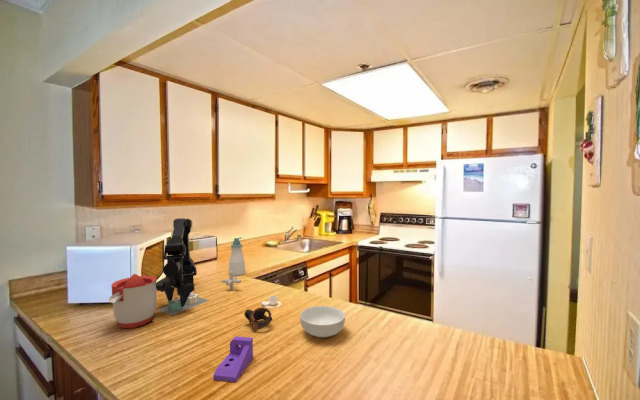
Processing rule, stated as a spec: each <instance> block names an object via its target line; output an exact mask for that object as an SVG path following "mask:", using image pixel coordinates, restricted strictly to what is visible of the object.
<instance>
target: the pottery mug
mask: <svg viewBox="0 0 640 400" xmlns="http://www.w3.org/2000/svg"><path fill="white" fill-rule="evenodd" d="M266 313H268V316H267V315H266ZM243 315H244V317H245V318H246V320H248V322H249V324H252V330H253V331H254V332H258V330H262V329H263V328H267V327H268V325H270V324H271V322H272V321H273V318H272V312H271V311H270V309H269V308H268V307H264V306H263V307H262V306H261V307H260V306H259V307H257V308H255V309H254V310H252V309H245V311H244V313H243ZM260 320H261V321H260Z"/></svg>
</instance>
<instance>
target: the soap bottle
mask: <svg viewBox="0 0 640 400" xmlns="http://www.w3.org/2000/svg"><path fill="white" fill-rule="evenodd" d="M240 239H242V237H240V236H239V237H236V238H235V237H234V239H233V240H232V244H231V245H230V248H231V249H230V250H231V251H230V258H229V260H228V274H229V275H230V272H231V271H233V277H238V276H242V275H244V274H245V273H246V265H245V259H244V254H243V246H244V245H243V243H241V241H240Z"/></svg>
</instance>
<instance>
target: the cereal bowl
mask: <svg viewBox="0 0 640 400" xmlns="http://www.w3.org/2000/svg"><path fill="white" fill-rule="evenodd" d="M299 321H300V325H301V327H302V329H303V330H304V331H305V333H308V335H311V336H314V337H317V338H328V337H333V336H335V335H337V334H338V333H340V331H342V330H343V327H344V326H345V322H346V315H345V312H344V311H342V310H341V309H339V308H337V307H334V306H331V305H330V306H328V305H315V306H310V307H307V308H304V310H303V309H302V311H301V312H300V314H299Z"/></svg>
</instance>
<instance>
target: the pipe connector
mask: <svg viewBox="0 0 640 400" xmlns="http://www.w3.org/2000/svg"><path fill="white" fill-rule="evenodd" d="M237 277H238V276H233V271H231V272H230V274H229V278H222V280H221V283H224V284H225V285H226V286H227V287H228V286H229V291H230V292H233V291H234V284H241V283H242V280H241V279H237Z"/></svg>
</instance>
